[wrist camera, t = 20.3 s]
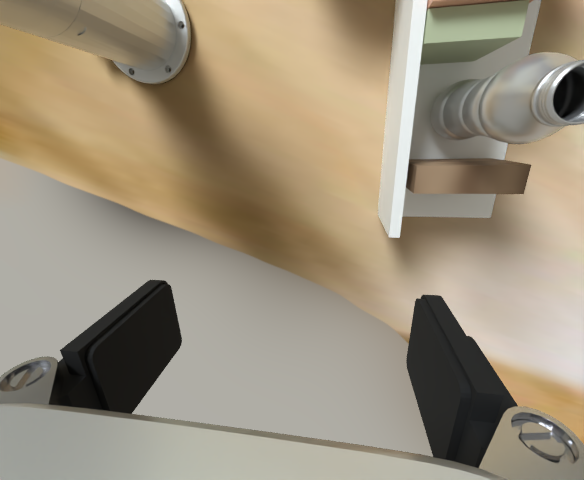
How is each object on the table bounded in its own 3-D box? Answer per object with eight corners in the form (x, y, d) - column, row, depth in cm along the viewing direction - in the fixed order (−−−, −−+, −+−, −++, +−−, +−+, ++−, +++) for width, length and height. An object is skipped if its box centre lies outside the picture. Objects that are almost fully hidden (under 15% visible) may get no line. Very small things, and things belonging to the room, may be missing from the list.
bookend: (399, 181, 39) (413, 193, 31) (401, 159, 38) (417, 165, 30) (486, 181, 37) (523, 194, 30) (491, 158, 36) (531, 164, 29)
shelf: (377, 214, 42) (393, 247, 30) (399, -46, 31) (438, -156, 19) (487, 216, 40) (551, 252, 28) (550, -64, 29) (700, -201, 17)
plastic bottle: (423, 91, 35) (522, 47, 16) (484, 75, 33) (668, 8, 15) (427, 145, 37) (518, 160, 18) (484, 132, 35) (646, 135, 17)
